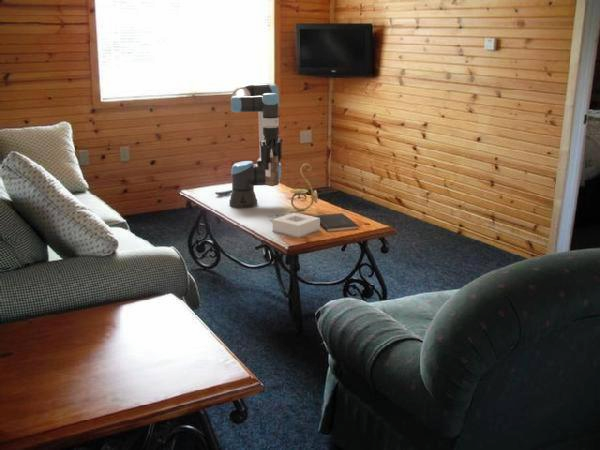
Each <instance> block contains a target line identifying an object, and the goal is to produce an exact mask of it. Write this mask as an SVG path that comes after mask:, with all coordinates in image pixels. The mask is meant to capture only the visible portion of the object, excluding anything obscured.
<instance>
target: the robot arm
mask: <svg viewBox="0 0 600 450" xmlns="http://www.w3.org/2000/svg"><path fill="white" fill-rule="evenodd" d="M280 105H281V103H280V94H279V89H278V86H277V84H275V83H270V82H269V83H265V82H264V83H245V84H242V85H239V86H238V87H236V88H235V89H234V90H233V92H232V94H231V97H230V111H231V112H232V113H258V115H257V116H258V141H259V142H258V143H259V147H258V148H259V158H257V160H256V163H254V162H253V161H252V160H244V161H239V162H235V163H234V164H232V166H231V172H230V173H231V174H230V175H231V188H232V189H231V193H230V199H229V206H230V207H232V208H238V209H242V208H243V209H245V208H246V209H247V208H254V207H256V206H257V205H258V199H257V196H256V193H255V187H257V186H267V185H266V182H265V170H266V176H268V177H271V163H269V161H270V155H274V156H278V185H279V183H280V181H281V175H282V163H281V162H280V161H281V160H282V158H283V157H282V155H283V154H282V143H283V138H279V134H280V127H279V125H280V124H279V120H280V119H279V118H280V117H279V113H280V112H279V109H280V107H279V106H280Z"/></svg>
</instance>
